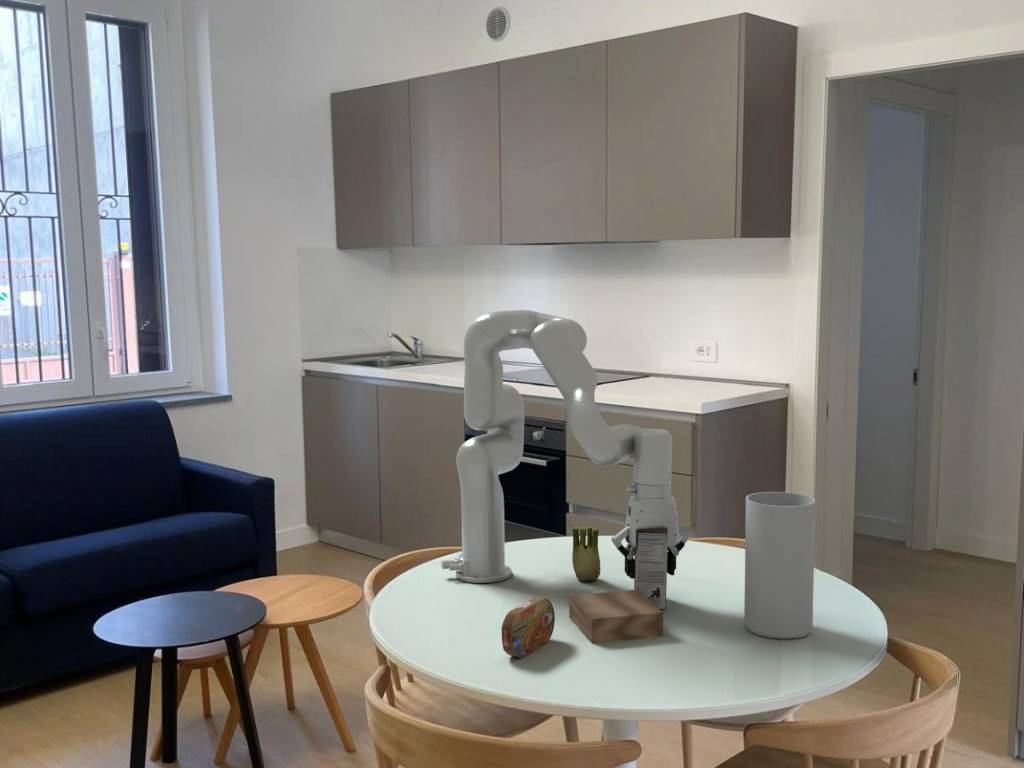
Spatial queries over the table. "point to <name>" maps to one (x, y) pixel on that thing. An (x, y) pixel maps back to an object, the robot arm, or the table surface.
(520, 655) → the tin
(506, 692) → the table surface
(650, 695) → the table surface
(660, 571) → the coffee box
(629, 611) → the walnut block
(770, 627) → the cylinder vase
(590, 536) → the fennel bulb
